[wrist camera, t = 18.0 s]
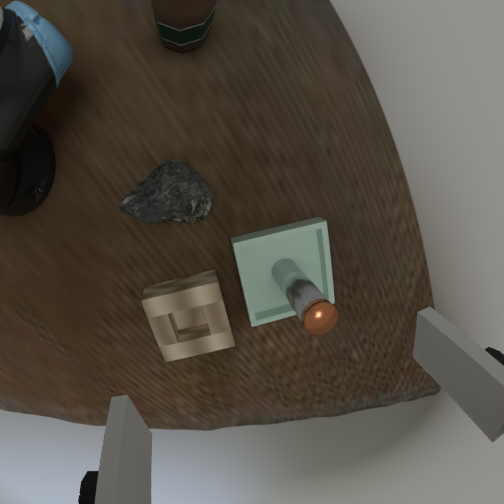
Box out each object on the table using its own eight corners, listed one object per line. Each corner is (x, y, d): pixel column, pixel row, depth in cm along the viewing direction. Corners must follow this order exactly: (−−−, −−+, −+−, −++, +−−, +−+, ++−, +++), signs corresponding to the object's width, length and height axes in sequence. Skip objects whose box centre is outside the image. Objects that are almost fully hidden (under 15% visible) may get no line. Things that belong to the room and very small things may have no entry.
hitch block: (166, 345, 55) (165, 361, 50) (144, 286, 50) (140, 300, 46) (231, 329, 56) (235, 345, 51) (215, 269, 52) (217, 281, 47)
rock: (198, 137, 42) (186, 172, 35) (232, 187, 48) (228, 229, 41) (133, 175, 46) (112, 215, 39) (168, 217, 52) (155, 261, 45)
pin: (273, 285, 54) (306, 339, 39) (269, 261, 53) (303, 309, 37) (298, 279, 55) (338, 329, 39) (295, 255, 53) (337, 299, 38)
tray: (248, 318, 56) (251, 326, 53) (230, 237, 51) (232, 243, 48) (328, 295, 58) (334, 302, 55) (319, 216, 52) (326, 221, 50)
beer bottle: (220, 33, 40) (249, -48, 18) (180, 64, 41) (174, -5, 18) (188, 3, 37) (193, -89, 15) (148, 32, 38) (120, -49, 15)
